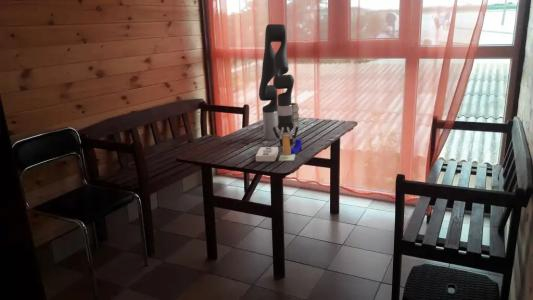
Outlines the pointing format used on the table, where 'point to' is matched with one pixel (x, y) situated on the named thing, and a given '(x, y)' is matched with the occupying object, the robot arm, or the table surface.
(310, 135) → the table surface
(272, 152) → the white slab with hole
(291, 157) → the mat
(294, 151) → the cable clip
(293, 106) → the tankard
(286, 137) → the plug
